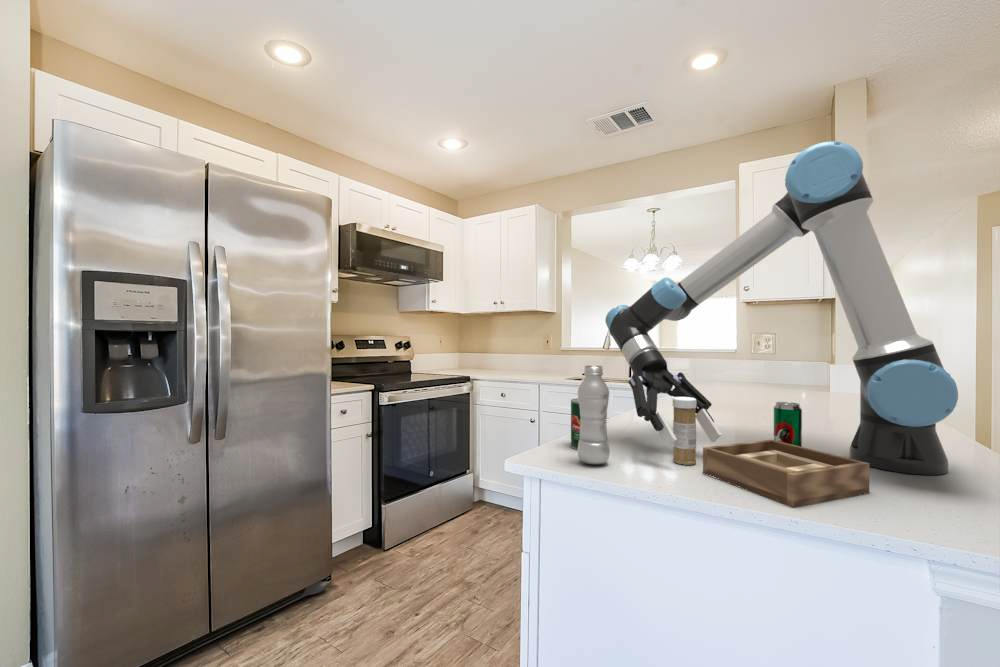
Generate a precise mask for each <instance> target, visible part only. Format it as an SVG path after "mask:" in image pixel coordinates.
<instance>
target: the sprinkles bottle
mask: <svg viewBox="0 0 1000 667" xmlns="http://www.w3.org/2000/svg"><path fill="white" fill-rule="evenodd" d="M696 407H697V403H696V399H695V398H691V397H674V396H673V397H672V409H673V421H672V423H673V424H672V426H673V427H672V432H673V433H674V435H675V437H676V438H677V440H676V441H675V442H674V443H673V444H672V446H673V458H672V462H674V463H676V464H678V465H682V464H683V465H684V466H693V465H695V464H696V463H697V459H696V458H697V457H696V448H697V422H696V421H697V419H696V415H697V414H696ZM697 408H698V407H697Z"/></svg>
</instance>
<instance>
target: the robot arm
mask: <svg viewBox="0 0 1000 667" xmlns="http://www.w3.org/2000/svg"><path fill="white" fill-rule="evenodd" d="M863 170H864V161H863V159H862V157H861V155H860V153H859V152H858V151H857V149H856V148H854V146H852V145H850V144H848V143H844V142H842V141H841V142H840V141H834V140H833V141H831V140H829V141H824V142H819V143H816V144H813V145H811V146H809V147H807V148H805V149H803V150H802V151H800V153H798V154H797V155H796V156H795V157H794V158H793V159H792V161H791V163H790V164H789V166H788V168H787V170H786V174H785V179H784V181H785V184H784V185H785V188H786V191H787V192H786V194H785V195H784V196H783V197H782V198H781V199H779V200H778V201H777V202H775V203H774V204H773V205H772V207H771V208H772V209H771V212H769V213H768V214H767V215H766V216H764V217H763V218H762V219H761V220H759V221H757V223H755V224H754V225H752V226H751V227H750V228H749V229H748V230H746V231H745V232H743V233H742V234H741V235H739V236H738V237H737V238H735V239H734V240H733V241H732V242H730V243H729V244H728V245H726V246H725V247H724V248H722V249H721V250H720V251H718V252H717V253H716V254H714V255H712V257H711V258H709V259H708V260H707V261H705V262H704V263H703V264H701V265H700V266H699V267H697V268H696V269H695V270H693V271H692V272H691V273H689V274H688V275H686V276H685V277H684V278H683V279H682V280H680V281H679V282H678V283H676V282H675V281H674V280H672V278H670V277H667V276H666V277H663V278H661V279H660V280H659V281H658V282H656V283H655V284H653V285H652V286H651V288H649V289H648V290H647V291H646V292H645V293H644V294H642V295H641V296H640V297H639V298H638V299H637V300H636V301H635V302H634V303H633V304H631V305H630V306H629V305H627V304H620V305H617V306H616V307H613V308H612V309H610V310H609V311H608V312H607V314H606V316H605V318H604V319H605V325H606V326H607V329H608V331H609V334H610V335H611V337H612V338H613V340H614V342H615V343H616V345H617V347H618V348H619V350H620V352H621V353H622V355H623V357H624V358H625V360H626V362H627V364H628V365H629V366H630V369H631V370H632V372H633V375H632V376H631V377H630V379H629V380H628V385H629V386H630V387H631V390H632V395H633V400H634V404H635V410H636V414H637V417H640V418H642V417H643V419H644V421H646V422H650V423H651V425H652V427H653V428H654V431H656V432H658V433H659V435H660V437H661V439H662V440H663V442H664V444H665V446H666V447H667V448H670V447H672V446H673V443H674V442H675V441H676V440H677V438H676V437H675V435H674V433H673V429H672V428H671V427H670V425H669V423H668V421H667V420H666V417H664V415H663V413H662V412H661V411H658V412H657V408H658V395H659V394H667V395H668V396H669V397H673V398H674V397H691V398H695V399H696V403H697V407H696V421H697V422H698V424H699V425H700V426H701V429H702V430H703V431H704V432H705V434H706V435H707V437H708V438H709V441H710V442H711V443H715V442H716V441H717V440H718V439H719V438H720V437H721V436H722V433H721V432H720V430H719V428H718V427H717V425H716V424H715V420H714V418H712V416H711V415H710V413H709V411H708V409H709V408H710V407H711V406H712V404H713V403H712V402H710V401H709V400H708V399H707V398H706V397H705V396H704V395H703V394H702V393H701V392H700V391H699V390H698V389H697V388H696V387H695V386H694V385H693V384H692V383H691V382H690V381H689V380H688V379H687V377H685V375H684V373H683V372H678V373H677V374H673V373H671V372H670V371H669V369H668V363H667V361H666V359H665V358H664V356H663V355H662V354H661V351H659V348H658V347H657V345H656V344H655V342H654V341H653V339H652V338H651V336H650V335H649V332H650V331H651V330H653V329H654V328H656V326H657V325H659V324H660V323H661V322H663V321H664V320H667V321H672V322H673V321H674V322H678V321H681V320H684V319H686V318H687V317H688V316H689V315H690V314H691V313H692V310H694V309H695V308H697V307H698V306H699V305H701V304H702V303H703V302H705V301H706V300H708V299H709V298H710V297H712V296H713V295H714V294H716V293H717V292H719V291H720V290H721V289H723V288H724V287H726V286H727V285H729V284H730V283H731V282H733V281H734V280H736V279H737V278H739V277H740V276H742V275H743V274H744V273H745V272H747V271H748V270H750V269H751V268H753V267H755V266H756V265H757V264H758V263H760V262H761V261H763V260H764V259H765V258H767V257H768V256H769V255H771V254H772V253H774V252H775V251H777V250H778V249H779V248H781V247H782V246H783V245H785V244H786V243H787V242H789V241H790V240H792V239H794V238H797V237H799V238H800V237H801V238H803V237H804V236H806V235H807V234H809V233H810V232H812V233H814V236H815V239H816V241H817V244H818V247H819V250H820V252H821V254H822V257H823V259H824V262H825V264H826V267H827V270H828V273H829V275H830V277H831V280H832V283H833V286H834V288H835V290H836V293H837V296H838V297H839V298H838V299H839V302H840V303H841V307H842V309H843V312H844V314H845V317H846V319H847V322H848V325H849V327H850V330H851V333H852V334H853V337H854V340H855V342H856V345H857V350H856V351H855V354H854V355H853V356H852V358H851V360H852V362H853V364H854V367H855V369H856V373H857V375H858V378H859V380H860V386H859V388H860V392H859V394H860V399H859V401H860V402H859V403H860V406H859V408H860V409H859V412H860V413H859V415H860V416H859V418H860V419H859V420H860V421H859V425H858V427H857V430H856V432H855V434H854V437H853V439H852V441H851V444H850V447H849V459H853V460H857V461H862V462H866V463H869V467H872V468H875V469H880V470H884V471H891V472H896V473H904V474H913V475H927V476H928V475H929V476H930V475H933V476H934V475H935V476H936V475H945V474H947V473H948V472H949V460H948V457H947V455H946V452H945V449H944V447H943V445H942V442H941V440H940V438H939V436H938V432H937V430H936V429H937V428H936V424H937V423H939V422H942V421H943V420H945V419H946V418H948V416H950V415H951V413H952V412H954V410H955V409H956V406H957V403H958V400H959V391H958V386H957V382H956V380H955V379H954V378H953V377H951V374H950V373H948V372H947V371H946V369H945V368H944V366H943V363H942V361H941V358H940V356H939V353H938V352H937V349H936V346H935V345H934V342H933V340H930V339H927V338H925V337H923V336H920V335H919V334H918V333H917V330H916V328H915V326H914V323H913V320H912V319H911V316H910V314H909V312H908V311H909V310H908V309H907V307H906V304H905V302H904V299H903V297H902V293H901V292H900V289H899V288H898V285H897V282H896V280H895V277H894V275H893V273H892V270H891V268H890V265H889V262H888V260H887V258H886V256H885V253H884V250H883V248H882V246H881V243H880V241H879V239H878V236H877V234H876V231H875V229H874V226H873V224H872V222H871V219H870V216H869V214H868V212H869V209H870V207H871V206H872V204H873V202H874V198H873V196H872V194H871V191H870V189H869V186H868V183H867V181H866V178H865V176H864V174H863ZM644 387H645V388H646V393H645V389H644ZM673 387H674V388H673Z"/></svg>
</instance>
